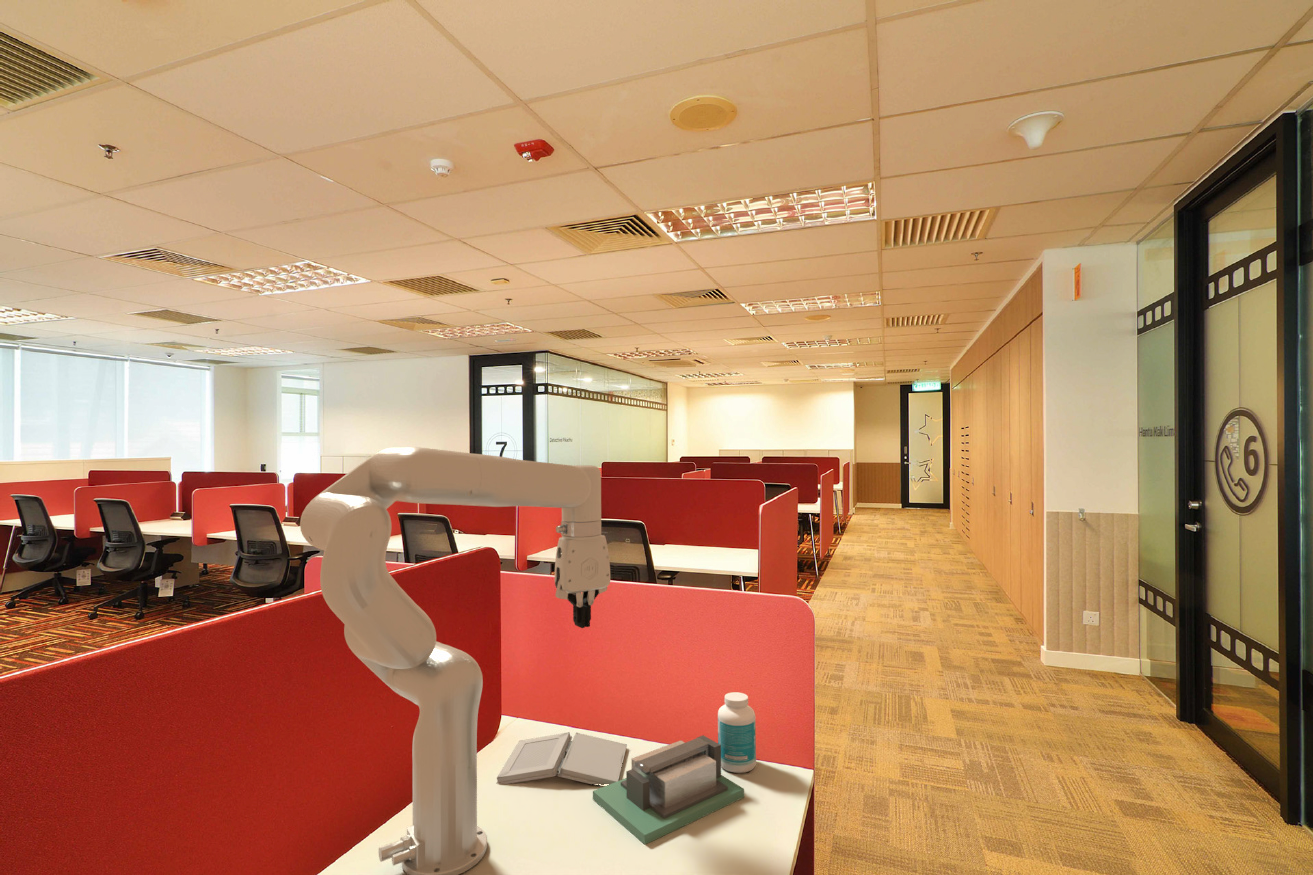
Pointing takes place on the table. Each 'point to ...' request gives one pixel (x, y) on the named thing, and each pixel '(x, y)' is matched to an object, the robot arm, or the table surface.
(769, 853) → the table surface
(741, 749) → the pill bottle
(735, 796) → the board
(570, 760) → the gadget
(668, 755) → the strap
